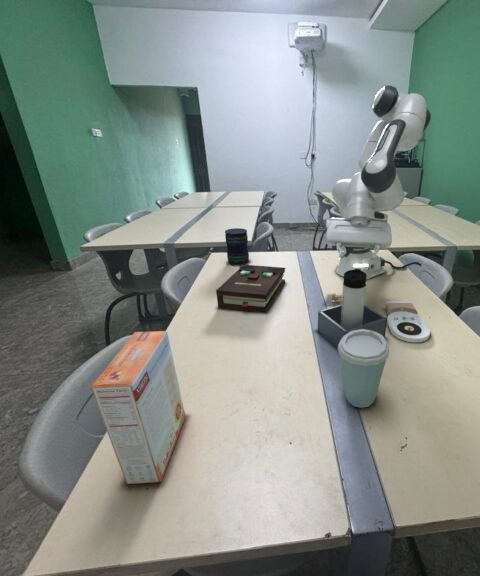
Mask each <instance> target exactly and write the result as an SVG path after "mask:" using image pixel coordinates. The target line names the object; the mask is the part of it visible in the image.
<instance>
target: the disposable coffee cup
mask: <svg viewBox="0 0 480 576" xmlns="http://www.w3.org/2000/svg"><path fill="white" fill-rule="evenodd" d="M336 350H337V351H338V355H339V362H340V370H341V376H342V377H341V378H342V384H343V385H342V386H343V391H344V395H345V398H346V400H347V403H349V404H350V405H351V406H353V407H357V408H361V409H362V408H367V407H370V406H371V405H373V404H374V402H375V401H376V397H377V393H378V391H379V387H380V383H381V380H382V377H383V372H384V369H385V366H386V362H387V360H388V359H389V353H390V346H389V344H388V341H387V340H386V338H385V339H384V337H383V336H382V335H381V334H379V333H377V332H375V331H371V330H366V329H359V330H354V331H351V332H349V333H347V334H346V335H344V336H343V338H342V339H341V340H340V343H339V345H338V349H337V348H336Z"/></svg>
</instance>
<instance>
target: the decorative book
mask: <svg viewBox="0 0 480 576" xmlns="http://www.w3.org/2000/svg"><path fill="white" fill-rule="evenodd" d="M236 267H238V269H237V270H236V271H235V272H234V273H233V274H232V275H231V276H230V277H229V278H228V279H226V281H224V282H223V283H222V284H221V285H220V286H219V287H218V288H217V289H216V290H215V292H216V300H217V301H216V302H217V308H218V309H220V310H230V311H231V310H232V311H241V312H253V313H263V314H267V313H268V311H269V310H270V308H271V307H272V305H273V303H274V302H275V300H276V299H277V297H278V295H279V294H280V293H281V290H282V289H283V288H284V286H285V284H286V279H285V278H284V276H285V272H286V267H282V266H281V267H280V266H267V265H253V264H245V265H237V266H236ZM283 278H284V279H283Z"/></svg>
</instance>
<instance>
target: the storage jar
mask: <svg viewBox="0 0 480 576" xmlns="http://www.w3.org/2000/svg"><path fill="white" fill-rule="evenodd" d="M224 234H225V235H224V236H225V238H224V239H225V244H226V250H227V251H226V257H227V264H228V265H230V266H233V267H234V266H236V267H238V266H237V265H242V266H243V265H249V263H250V260H249V259H250V254H249V253H250V251H249V248H248V247H249V246H248V244H249V240H248V238H249V237H248V230H247V229H245V228H238V227H237V228H228V229H226V230H224Z"/></svg>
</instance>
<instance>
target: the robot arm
mask: <svg viewBox="0 0 480 576" xmlns="http://www.w3.org/2000/svg"><path fill="white" fill-rule="evenodd" d="M427 104H428V103H427V100H426V99H425V97H424V96H423V95H421V94H419V93H417V92H412V93H405V92H403V91H402V90H399V89H397V87H395V86H393V85H389V84H387V85H385V86H383V87H382V88H381V89H380V90H379V91H378V92H377V94H376V95H375V98H374V99H373V105H372V112H373V113H374V115H375V116H376V117H377V118H379V119H381V120H379V121H378V122H377V123H376V124H375V126H374V127H373V129H372V131H371V132H370V134H369V136H368V137H367V140H366V141H365V144H364V146H363V149H362V151H361V154H360V156H359V158H358V161H357V163H358V168H359V169H360V170H361V171H359V172H357V173H355V174H354V175H353V176H352V177H351V178H345V179H340V180H337V181H336V182H335V183H334V185H333V186H332V189H331V190H332V191H331V195H332V196H331V197H332V199H333V200H334V202H335V203H336V205H337V208H338V210H339V214H340V217H331V218H329V219H327V220H326V221H325V229H326V232H325V244H326V245H327V246H331V247H336V251H337V252H338V254H339V255H338V259H339V262H338V264H337V265H338V266H337V268H336V275H338V276H340V277H343V278H344V273H345V272H346V271H349V270H355V269H361V271H363V272H365V273H366V275H367V277H366V281H368V280H369V279H372V278H374V277H377V276H379V275H382V274H384V273H386V268H385V266H386V264H388V265H389V266H390V267H391V268H393V269H397V270H402V269H405V268H407V267H409V266H412V265H417V266H420V267H421V266H422V264H421V263H420V262H418V261H413V262H410V263H407V264H403V265H402V266H395V265H394V264H393V263H392V262H391V261H388V260H386V259H384V258H383V257H381V256H378V255H377V254H379V251H380V250H381V249H384V250H387V249H389V248H390V247H391V246H392V242H393V236H392V235H393V234H392V228H391V225H390V224H389V222H388V221H389V215H388V214H387V213H385V212H388V211H392V210H395V209H397V208H398V207H399V206H401V204H402V203H403V201H404V199H405V192H404V189H403V188H404V187H403V185H402V182H401V180H400V177H399V174H398V171H397V167H396V163H395V157H396V155H397V152H407V151H409V150H413V149H414V148H415V147H417V146H418V144H419V143H420V140H421V138H422V136H423V133H424V132H425V131H426V130H427V128H428V126H429V124H430V123H431V119H432V113H431V112H430V110H429V109H428V105H427ZM371 249H374V251H372V250H371Z"/></svg>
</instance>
